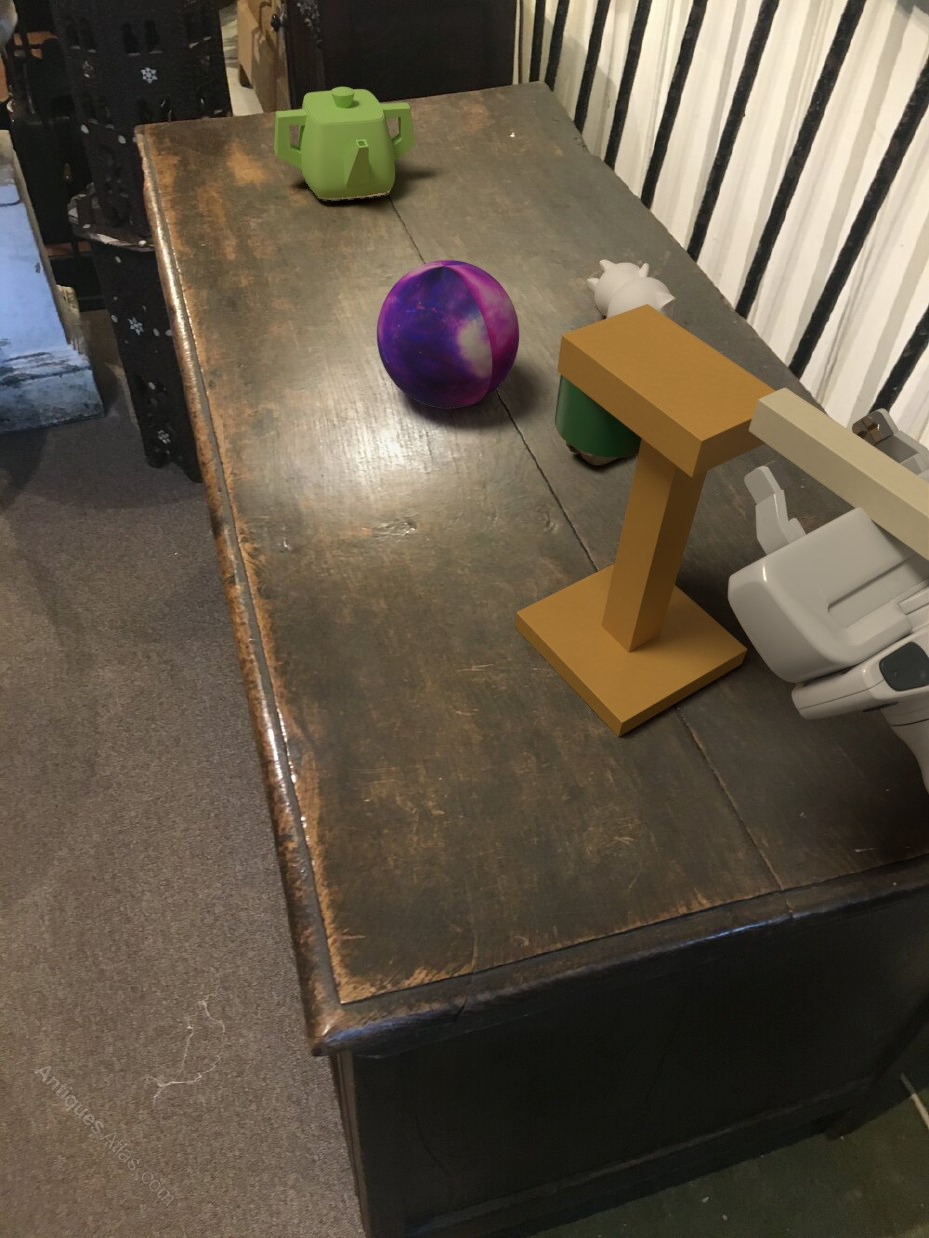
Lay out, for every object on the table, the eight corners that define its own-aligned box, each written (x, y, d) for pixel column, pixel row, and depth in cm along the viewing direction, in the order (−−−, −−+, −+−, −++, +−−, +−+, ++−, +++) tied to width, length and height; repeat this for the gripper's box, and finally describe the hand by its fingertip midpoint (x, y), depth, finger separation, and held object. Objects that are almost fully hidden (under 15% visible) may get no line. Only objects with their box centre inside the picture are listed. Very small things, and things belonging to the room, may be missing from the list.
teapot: (433, 214, 137) (435, 117, 127) (291, 228, 132) (282, 128, 123) (402, 159, 148) (401, 66, 139) (271, 170, 144) (261, 75, 134)
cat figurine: (609, 234, 115) (656, 281, 107) (667, 270, 121) (716, 316, 113) (566, 298, 119) (609, 347, 111) (625, 329, 125) (669, 378, 117)
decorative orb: (452, 343, 115) (457, 220, 104) (541, 402, 108) (556, 276, 97) (351, 389, 108) (344, 262, 97) (438, 455, 101) (441, 326, 90)
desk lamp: (742, 664, 83) (845, 401, 63) (618, 737, 78) (689, 475, 58) (606, 541, 93) (659, 280, 73) (487, 599, 87) (509, 333, 67)
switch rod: (983, 565, 53) (1006, 527, 51) (951, 585, 52) (974, 547, 50) (775, 420, 61) (788, 382, 59) (744, 434, 60) (756, 397, 58)
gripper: (1083, 560, 58) (963, 362, 59) (857, 711, 50) (723, 477, 51) (997, 591, 64) (889, 410, 65) (781, 731, 55) (663, 520, 57)
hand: (814, 440), depth 58 cm, fingers open, 8 cm apart
